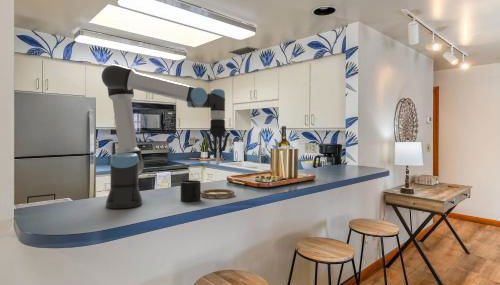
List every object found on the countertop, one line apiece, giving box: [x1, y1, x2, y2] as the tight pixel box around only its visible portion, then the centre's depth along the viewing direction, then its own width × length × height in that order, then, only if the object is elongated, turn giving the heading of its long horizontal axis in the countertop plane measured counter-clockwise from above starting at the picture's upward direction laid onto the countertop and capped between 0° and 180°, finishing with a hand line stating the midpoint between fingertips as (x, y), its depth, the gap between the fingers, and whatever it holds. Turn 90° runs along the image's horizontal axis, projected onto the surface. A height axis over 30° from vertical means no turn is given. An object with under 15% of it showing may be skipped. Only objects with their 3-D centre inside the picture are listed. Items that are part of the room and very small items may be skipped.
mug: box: [180, 179, 202, 203], centre depth 146 cm, size 9×12×9 cm
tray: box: [201, 188, 235, 200], centre depth 161 cm, size 17×17×2 cm
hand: (217, 164), depth 161 cm, fingers closed
